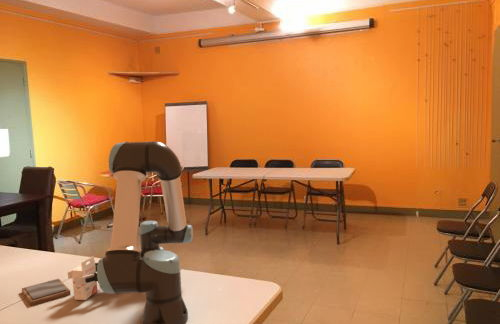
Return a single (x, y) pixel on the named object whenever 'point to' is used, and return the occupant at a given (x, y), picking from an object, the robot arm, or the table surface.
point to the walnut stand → (45, 291)
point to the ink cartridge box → (89, 288)
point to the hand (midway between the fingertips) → (71, 278)
